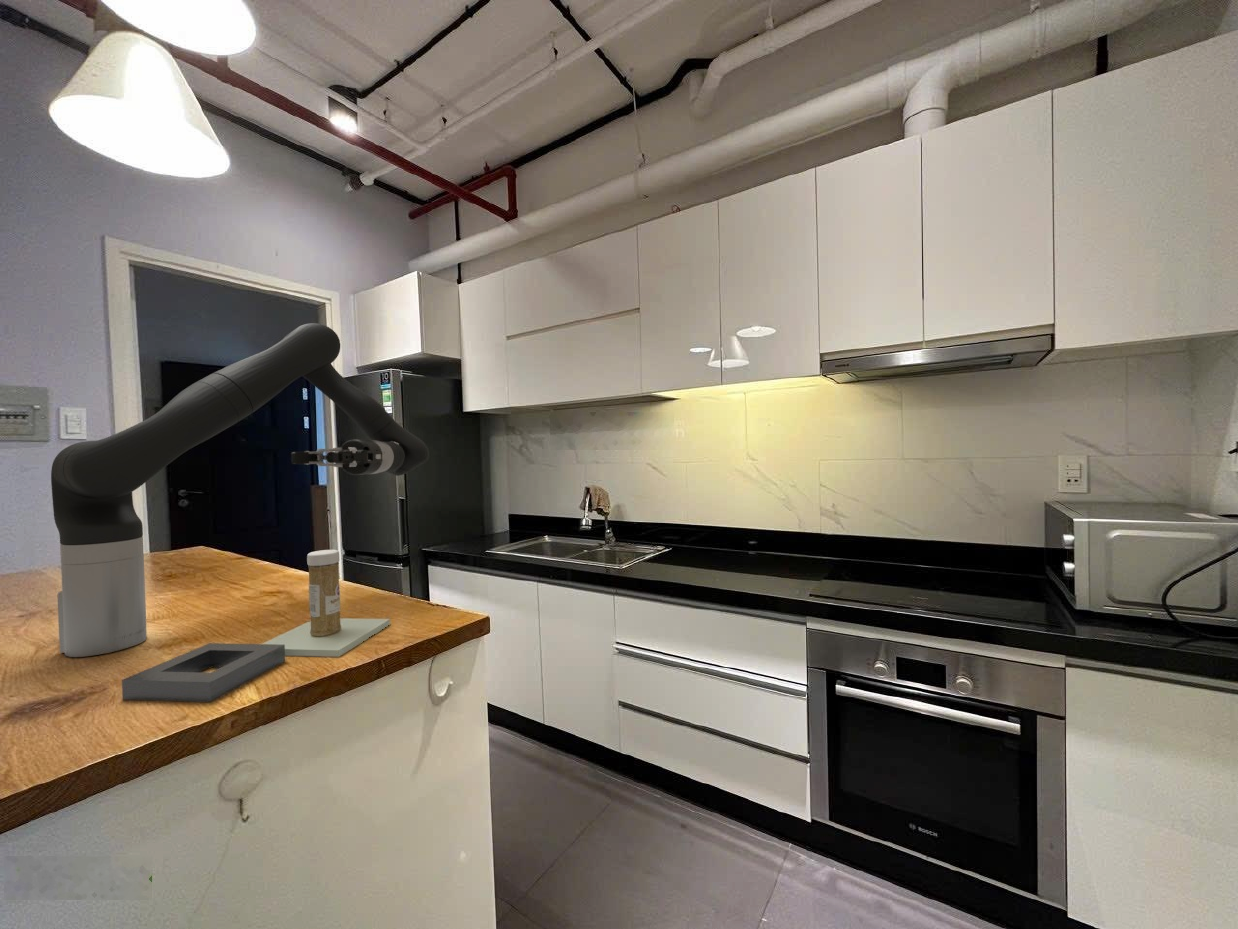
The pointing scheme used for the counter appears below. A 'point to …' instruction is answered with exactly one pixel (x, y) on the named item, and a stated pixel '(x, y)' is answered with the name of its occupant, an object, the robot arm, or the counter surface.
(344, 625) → the sage board
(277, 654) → the metal socket
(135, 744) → the counter surface
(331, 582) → the sprinkles bottle
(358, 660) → the counter surface
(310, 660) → the counter surface
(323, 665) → the counter surface
